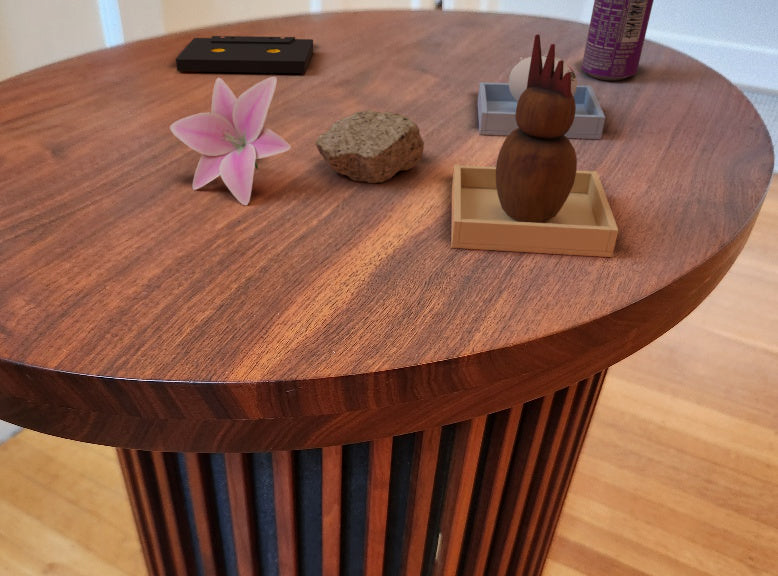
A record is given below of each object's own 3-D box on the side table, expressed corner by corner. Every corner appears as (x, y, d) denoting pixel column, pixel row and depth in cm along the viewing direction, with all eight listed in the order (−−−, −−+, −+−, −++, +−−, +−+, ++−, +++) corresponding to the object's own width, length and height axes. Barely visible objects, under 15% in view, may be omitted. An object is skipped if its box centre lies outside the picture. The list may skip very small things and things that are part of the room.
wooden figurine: (479, 205, 71) (502, 32, 62) (533, 195, 73) (562, 25, 64) (520, 236, 66) (551, 53, 57) (577, 225, 68) (616, 45, 59)
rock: (368, 117, 84) (405, 68, 77) (410, 182, 83) (451, 138, 76) (297, 142, 79) (330, 92, 72) (340, 211, 78) (378, 167, 71)
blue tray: (587, 106, 94) (591, 85, 93) (600, 139, 85) (605, 117, 84) (477, 102, 96) (479, 82, 94) (479, 134, 87) (482, 112, 86)
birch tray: (591, 196, 74) (597, 171, 72) (612, 257, 64) (618, 230, 63) (451, 189, 75) (454, 164, 74) (451, 248, 66) (454, 221, 64)
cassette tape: (313, 52, 115) (313, 37, 114) (304, 75, 106) (304, 59, 105) (195, 50, 117) (193, 35, 115) (176, 73, 108) (174, 57, 106)
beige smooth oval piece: (580, 117, 90) (592, 57, 86) (553, 130, 86) (565, 68, 82) (521, 102, 94) (529, 44, 90) (493, 114, 91) (501, 55, 87)
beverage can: (641, 72, 105) (664, -26, 98) (627, 86, 100) (651, -16, 93) (588, 64, 108) (607, -31, 101) (573, 78, 103) (592, -21, 96)
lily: (172, 175, 82) (140, 111, 73) (261, 113, 83) (239, 43, 74) (235, 246, 77) (208, 186, 68) (328, 178, 78) (313, 111, 69)
